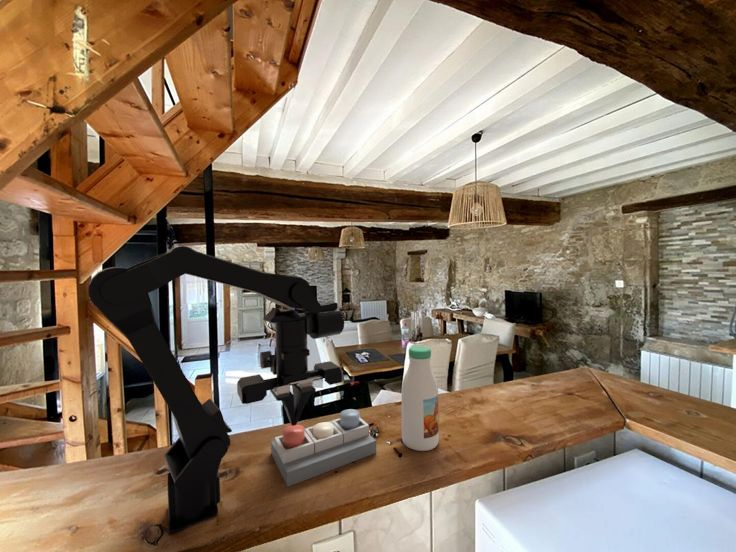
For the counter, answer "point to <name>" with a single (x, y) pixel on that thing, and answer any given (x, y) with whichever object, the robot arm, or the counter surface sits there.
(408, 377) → the milk bottle
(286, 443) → the button red
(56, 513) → the counter surface
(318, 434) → the button ivory
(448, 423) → the counter surface
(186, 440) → the robot arm
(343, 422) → the button blue
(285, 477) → the console
